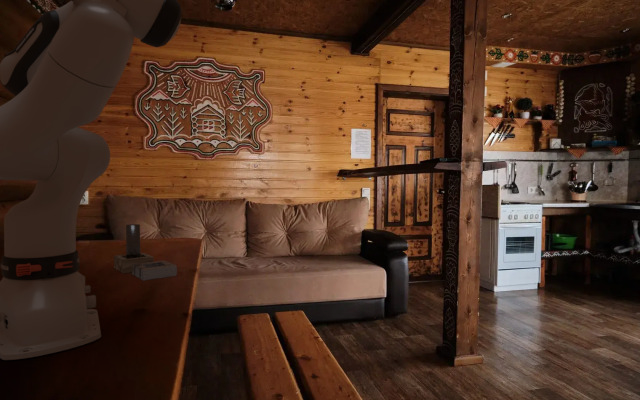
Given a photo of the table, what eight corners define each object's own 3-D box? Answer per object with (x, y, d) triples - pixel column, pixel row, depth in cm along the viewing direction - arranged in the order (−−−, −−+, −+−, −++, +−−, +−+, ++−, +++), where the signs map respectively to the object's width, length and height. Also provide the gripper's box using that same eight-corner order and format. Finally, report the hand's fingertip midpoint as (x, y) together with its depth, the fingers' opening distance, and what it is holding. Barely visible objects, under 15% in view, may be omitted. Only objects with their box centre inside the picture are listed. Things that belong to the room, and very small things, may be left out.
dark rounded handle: (142, 268, 122) (141, 224, 122) (129, 270, 120) (128, 225, 119) (138, 266, 125) (137, 223, 125) (124, 268, 122) (124, 224, 122)
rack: (153, 269, 122) (153, 256, 122) (122, 273, 116) (122, 260, 116) (143, 264, 129) (143, 252, 129) (114, 268, 123) (113, 255, 122)
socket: (176, 275, 115) (176, 265, 115) (143, 280, 108) (143, 270, 108) (164, 269, 122) (164, 260, 122) (131, 274, 115) (131, 264, 115)
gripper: (79, 114, 97) (82, 169, 97) (63, 125, 112) (66, 173, 112) (48, 111, 92) (52, 169, 93) (36, 123, 107) (40, 173, 108)
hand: (60, 171), depth 103 cm, fingers open, 8 cm apart
